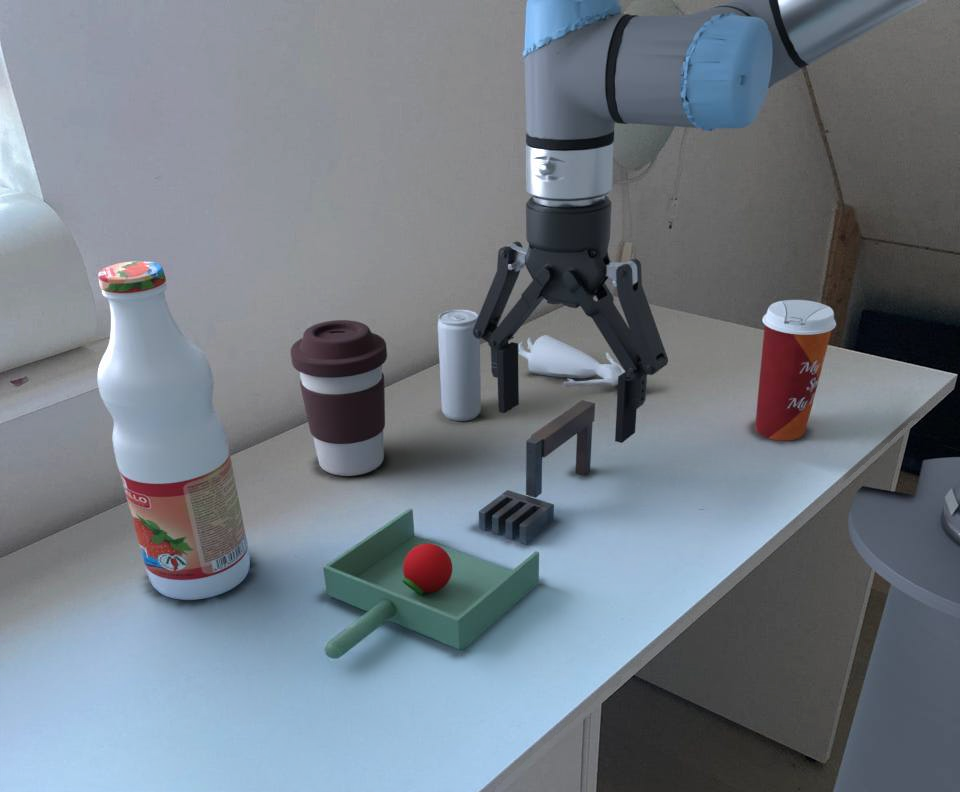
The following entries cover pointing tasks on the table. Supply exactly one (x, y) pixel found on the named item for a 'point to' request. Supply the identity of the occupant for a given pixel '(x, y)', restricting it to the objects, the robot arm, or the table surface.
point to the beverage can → (459, 365)
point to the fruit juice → (169, 441)
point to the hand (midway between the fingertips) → (565, 422)
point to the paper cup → (791, 366)
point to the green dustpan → (439, 615)
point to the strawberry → (427, 568)
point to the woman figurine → (568, 363)
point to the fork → (540, 476)
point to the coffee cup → (343, 394)
